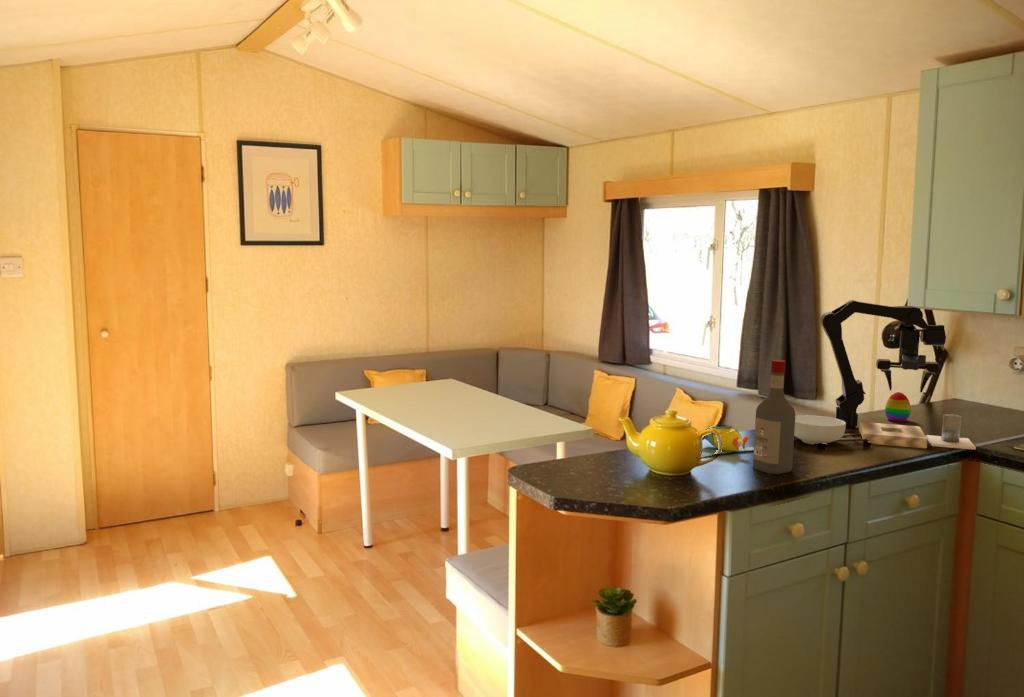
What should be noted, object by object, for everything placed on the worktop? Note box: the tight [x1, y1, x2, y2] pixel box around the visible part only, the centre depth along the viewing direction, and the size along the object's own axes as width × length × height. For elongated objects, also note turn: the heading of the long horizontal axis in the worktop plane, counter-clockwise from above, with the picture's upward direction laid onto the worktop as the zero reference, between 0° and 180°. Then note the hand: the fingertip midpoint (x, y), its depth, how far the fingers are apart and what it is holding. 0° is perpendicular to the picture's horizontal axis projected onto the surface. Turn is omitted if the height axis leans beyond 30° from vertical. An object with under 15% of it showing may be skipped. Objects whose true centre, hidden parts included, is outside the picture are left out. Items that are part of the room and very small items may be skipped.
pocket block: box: [858, 421, 928, 449], centre depth 270 cm, size 18×18×3 cm
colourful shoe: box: [701, 424, 754, 459], centre depth 251 cm, size 28×9×15 cm
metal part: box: [941, 413, 962, 443], centre depth 266 cm, size 5×5×8 cm
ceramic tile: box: [925, 434, 977, 451], centre depth 266 cm, size 12×12×1 cm
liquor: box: [752, 359, 797, 475], centre depth 231 cm, size 9×9×30 cm
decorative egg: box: [884, 391, 912, 423], centre depth 298 cm, size 8×8×10 cm
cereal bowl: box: [794, 414, 847, 445], centre depth 265 cm, size 17×17×7 cm
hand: (905, 391), depth 282 cm, fingers open, 9 cm apart
